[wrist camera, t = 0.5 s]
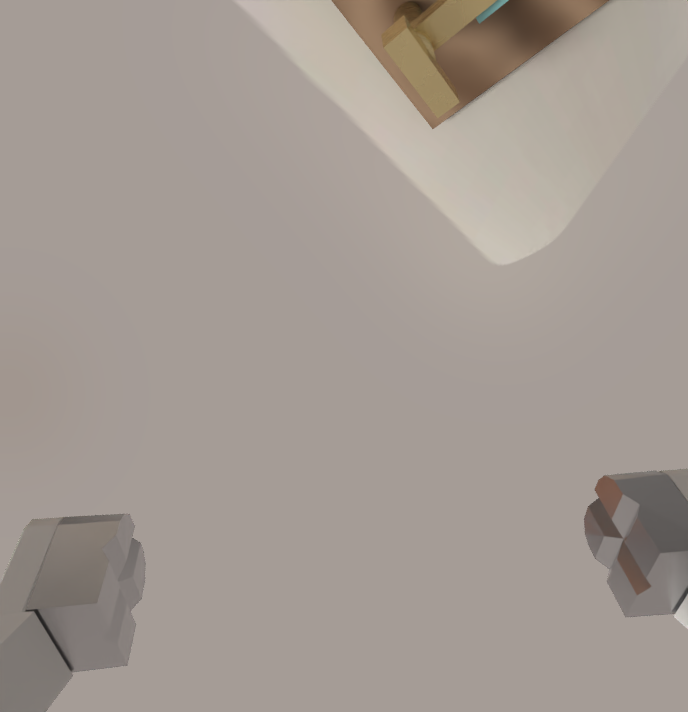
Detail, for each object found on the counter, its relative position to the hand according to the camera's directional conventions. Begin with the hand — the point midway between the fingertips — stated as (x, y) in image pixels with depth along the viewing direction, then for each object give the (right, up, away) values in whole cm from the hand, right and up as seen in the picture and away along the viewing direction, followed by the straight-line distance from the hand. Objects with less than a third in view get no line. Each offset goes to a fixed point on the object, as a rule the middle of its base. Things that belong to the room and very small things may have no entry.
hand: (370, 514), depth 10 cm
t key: (+7, +32, +36) cm, 49 cm away
